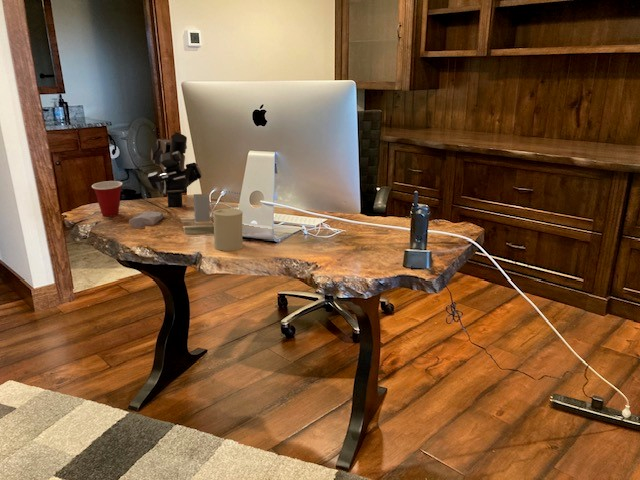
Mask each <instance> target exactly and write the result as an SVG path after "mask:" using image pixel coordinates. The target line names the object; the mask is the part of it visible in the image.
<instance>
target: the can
mask: <svg viewBox="0 0 640 480" xmlns="http://www.w3.org/2000/svg"><path fill="white" fill-rule="evenodd" d="M243 212H244V211H243V210H241V209H237V208H231V207H230V208H228V207H227V208H225V207H224V208H219V209H215V210H213V216H214V218H213V222H214V232H213V235H214V236H213V239H214V240H213V242H214V243H213V247H214V249H215V250H217V249H218V250H217V251H221V250H223V251H222V252H234V251H238V250H241V249H242V248H243V247H244V243H243V242H244V241H243Z"/></svg>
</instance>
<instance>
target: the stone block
mask: <svg viewBox="0 0 640 480" xmlns="http://www.w3.org/2000/svg"><path fill="white" fill-rule="evenodd" d="M163 218H164V213H163V212H158V211H153V210H152V211H144V212H143V211H142V212H140V213H137V214H136V215H133V216H132V218H130V219H129V220H128V224H129V225H130V227H131V228H135V229H146V226H154V225H156V224H157V223H159V222H160V221H161V220H162V219H163Z"/></svg>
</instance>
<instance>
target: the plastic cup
mask: <svg viewBox="0 0 640 480" xmlns="http://www.w3.org/2000/svg"><path fill="white" fill-rule="evenodd" d="M122 186H123V182H122V181H118V180H108V181H100V182H96V183H93V184H92V185H91V188H92V189H93V190H94V194H95V195H96V198H97V204H98V207H99V208H100V212H101V215H102V216H103V217H115V216H118V215H119V212H120V202H121V192H122Z"/></svg>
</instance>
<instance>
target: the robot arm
mask: <svg viewBox="0 0 640 480" xmlns="http://www.w3.org/2000/svg"><path fill="white" fill-rule="evenodd" d="M187 140H188V137H187V136H186V135H184V134H182V133H181V132H179V131H177V132H176V131H175V132H173V134H171V136H170V139H168V138H158V139H156V143H155V144H154V145H152V147H151V150H150V159H151V161H152V162H153V164H154V165H157V166H159V167H160V168H161V171H162V172H163V173H160V172H159V171H154V172H150V173H148V174H147V180H148V182H149V183H150V185H151V186H152V188H153V190H157V191H158V192H159V194H160V195H162V194H164V195H167V206H165V207H164V208H165V209H168V208H169V209H170V208H186V207H187V205H186V204H183V194H187V193H188V187H189V186H190V185H192V184H194V182H197V180H199V179H201V178H202V171H201V169H200V168H199V165H198V163H196V162H192V163H187V164H185V162H186V156H185V154H186V152H187V151H186V150H187V149H188V147H187V143H188V142H187ZM197 166H198V167H197Z"/></svg>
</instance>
